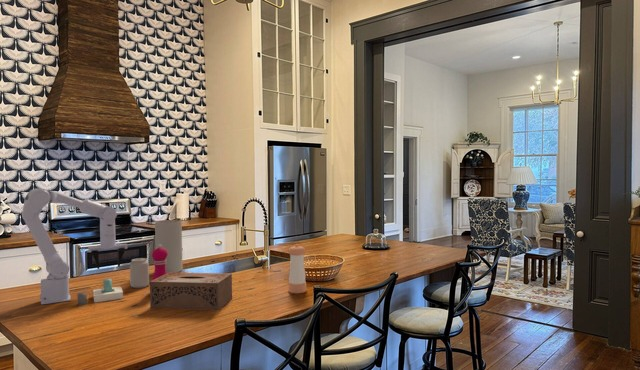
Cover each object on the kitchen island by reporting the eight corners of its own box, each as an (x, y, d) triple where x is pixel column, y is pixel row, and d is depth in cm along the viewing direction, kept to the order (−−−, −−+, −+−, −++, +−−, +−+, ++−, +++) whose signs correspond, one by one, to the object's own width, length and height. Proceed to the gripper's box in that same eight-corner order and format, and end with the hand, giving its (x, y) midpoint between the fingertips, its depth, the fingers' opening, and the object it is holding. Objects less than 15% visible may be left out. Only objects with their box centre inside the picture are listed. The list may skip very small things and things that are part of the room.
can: (126, 287, 183) (125, 259, 183) (141, 283, 190) (140, 256, 190) (138, 289, 180) (137, 261, 180) (152, 285, 186) (152, 258, 186)
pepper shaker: (304, 293, 170) (303, 246, 170) (286, 292, 172) (285, 245, 171) (308, 288, 178) (307, 243, 177) (291, 288, 179) (290, 242, 179)
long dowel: (104, 298, 167) (103, 281, 167) (103, 296, 169) (103, 279, 169) (112, 297, 168) (112, 280, 168) (112, 295, 171) (111, 278, 171)
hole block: (94, 302, 162) (94, 295, 162) (93, 296, 171) (93, 289, 171) (123, 298, 167) (122, 292, 167) (120, 292, 176) (120, 286, 176)
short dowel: (77, 305, 158) (77, 295, 158) (77, 303, 161) (77, 293, 161) (86, 304, 160) (86, 294, 159) (86, 302, 162) (86, 292, 162)
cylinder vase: (155, 270, 216) (154, 221, 215) (180, 267, 221) (179, 219, 221) (157, 275, 205) (155, 223, 204) (184, 272, 210) (183, 222, 209)
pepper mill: (163, 296, 170) (162, 246, 169) (147, 295, 171) (146, 245, 171) (173, 291, 177) (172, 243, 176) (157, 290, 178) (156, 242, 178)
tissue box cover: (150, 309, 154) (149, 281, 154) (169, 297, 169) (168, 272, 168) (218, 311, 151) (218, 283, 151) (232, 299, 165) (231, 273, 165)
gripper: (88, 237, 170) (89, 271, 171) (127, 234, 178) (128, 267, 178) (87, 235, 177) (88, 268, 177) (126, 232, 184) (126, 264, 184)
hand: (108, 267), depth 178 cm, fingers open, 7 cm apart
